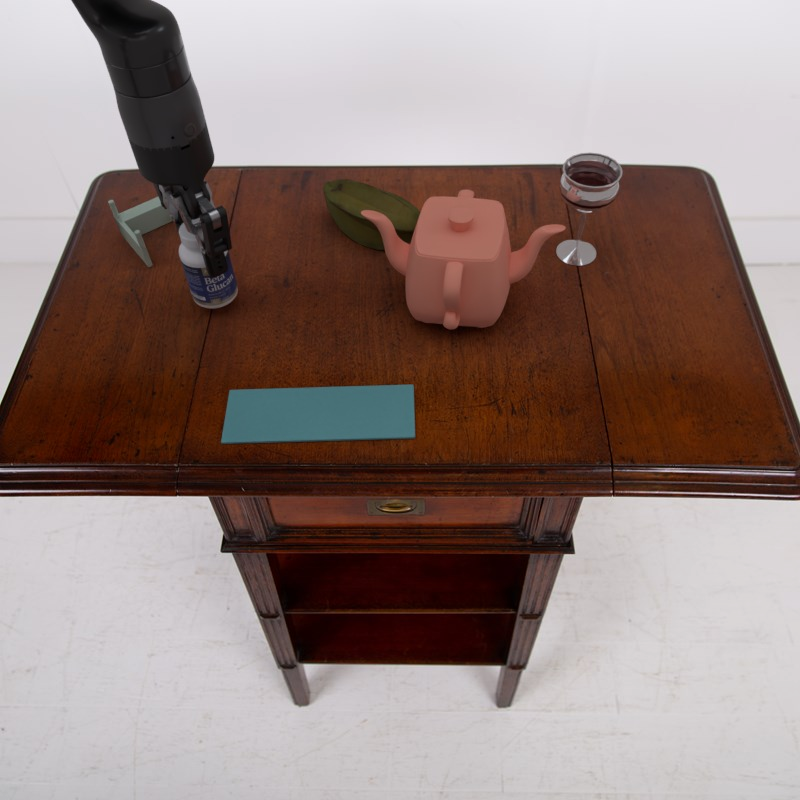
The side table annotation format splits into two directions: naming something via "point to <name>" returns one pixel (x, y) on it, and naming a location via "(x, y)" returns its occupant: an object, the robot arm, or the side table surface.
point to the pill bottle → (205, 274)
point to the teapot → (459, 259)
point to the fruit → (356, 197)
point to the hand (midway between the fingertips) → (205, 258)
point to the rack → (140, 224)
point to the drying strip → (319, 414)
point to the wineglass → (587, 198)
